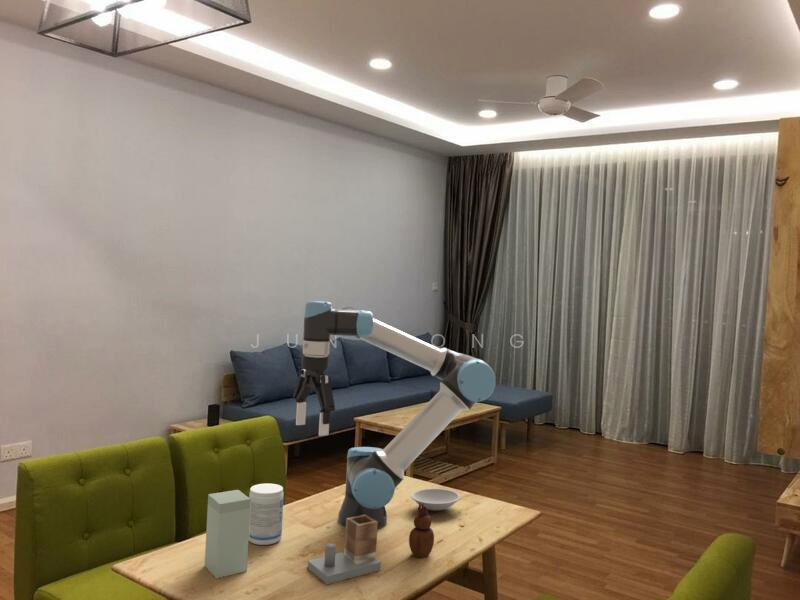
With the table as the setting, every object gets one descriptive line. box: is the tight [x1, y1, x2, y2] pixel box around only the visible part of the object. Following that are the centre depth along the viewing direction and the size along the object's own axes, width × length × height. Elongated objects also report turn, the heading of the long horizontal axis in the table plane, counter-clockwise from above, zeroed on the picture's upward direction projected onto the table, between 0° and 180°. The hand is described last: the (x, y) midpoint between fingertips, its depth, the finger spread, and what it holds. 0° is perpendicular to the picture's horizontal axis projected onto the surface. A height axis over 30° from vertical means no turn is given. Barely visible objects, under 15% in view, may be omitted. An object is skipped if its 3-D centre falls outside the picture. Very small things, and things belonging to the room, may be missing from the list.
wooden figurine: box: [408, 503, 435, 558], centre depth 175 cm, size 7×6×15 cm
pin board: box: [307, 543, 382, 585], centre depth 164 cm, size 16×10×7 cm, turn 127°
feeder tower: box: [204, 489, 251, 579], centre depth 161 cm, size 8×8×18 cm
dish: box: [410, 487, 461, 511], centre depth 211 cm, size 18×14×5 cm
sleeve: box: [343, 514, 378, 564], centre depth 167 cm, size 6×6×10 cm
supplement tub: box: [248, 483, 284, 546], centre depth 180 cm, size 10×10×15 cm
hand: (311, 429), depth 180 cm, fingers open, 13 cm apart
